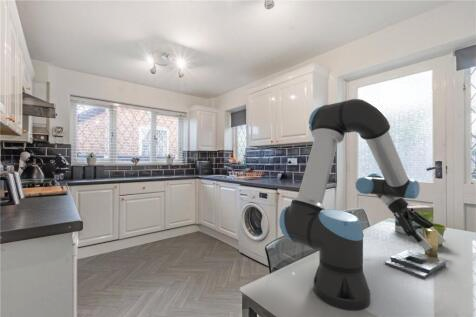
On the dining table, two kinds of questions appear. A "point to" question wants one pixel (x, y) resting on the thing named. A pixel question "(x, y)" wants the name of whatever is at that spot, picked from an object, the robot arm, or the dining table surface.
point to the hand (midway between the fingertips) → (436, 245)
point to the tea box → (422, 210)
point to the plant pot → (437, 227)
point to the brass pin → (432, 242)
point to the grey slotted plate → (428, 261)
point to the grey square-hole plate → (410, 268)
